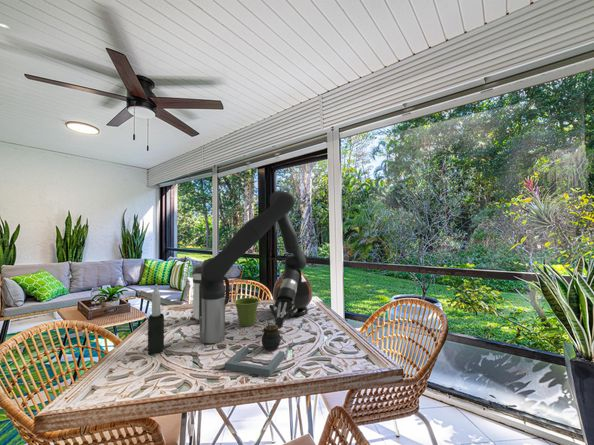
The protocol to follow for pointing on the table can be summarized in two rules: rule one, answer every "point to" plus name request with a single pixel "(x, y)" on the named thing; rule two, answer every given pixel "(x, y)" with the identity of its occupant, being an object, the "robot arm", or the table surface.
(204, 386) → the table surface
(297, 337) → the table surface
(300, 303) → the amphora vase
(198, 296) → the coffee press
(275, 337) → the mate gourd
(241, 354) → the frame
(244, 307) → the plant pot
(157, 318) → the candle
